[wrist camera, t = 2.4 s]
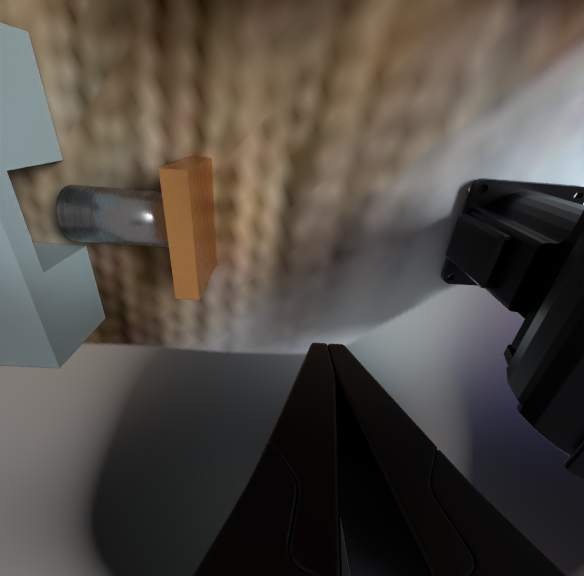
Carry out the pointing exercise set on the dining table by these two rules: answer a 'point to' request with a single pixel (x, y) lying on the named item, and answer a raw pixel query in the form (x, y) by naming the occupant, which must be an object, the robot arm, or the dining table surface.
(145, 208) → the pin
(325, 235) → the dining table surface
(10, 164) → the block
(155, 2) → the dining table surface
